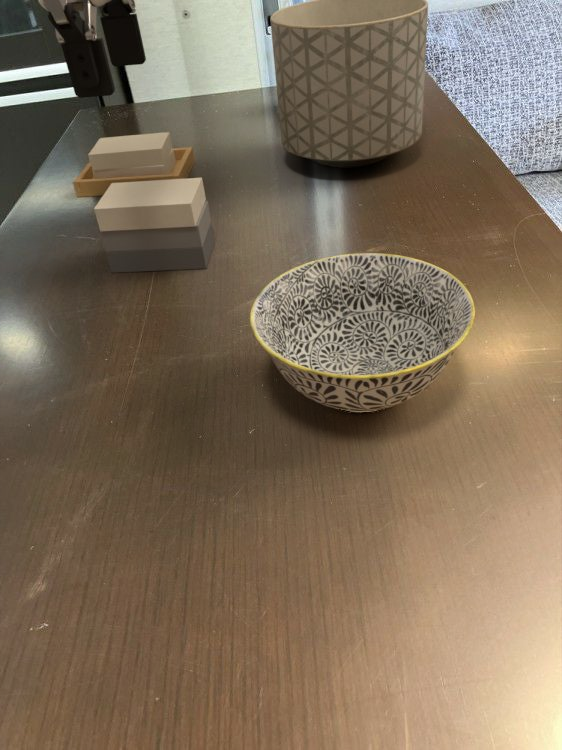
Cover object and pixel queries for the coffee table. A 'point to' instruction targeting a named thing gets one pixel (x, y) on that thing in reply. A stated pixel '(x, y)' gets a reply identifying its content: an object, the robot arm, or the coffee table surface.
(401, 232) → the coffee table surface
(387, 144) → the planter
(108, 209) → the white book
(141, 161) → the taupe rectangular block
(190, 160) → the shallow wooden box
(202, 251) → the grey rectangular block
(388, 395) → the bowl
